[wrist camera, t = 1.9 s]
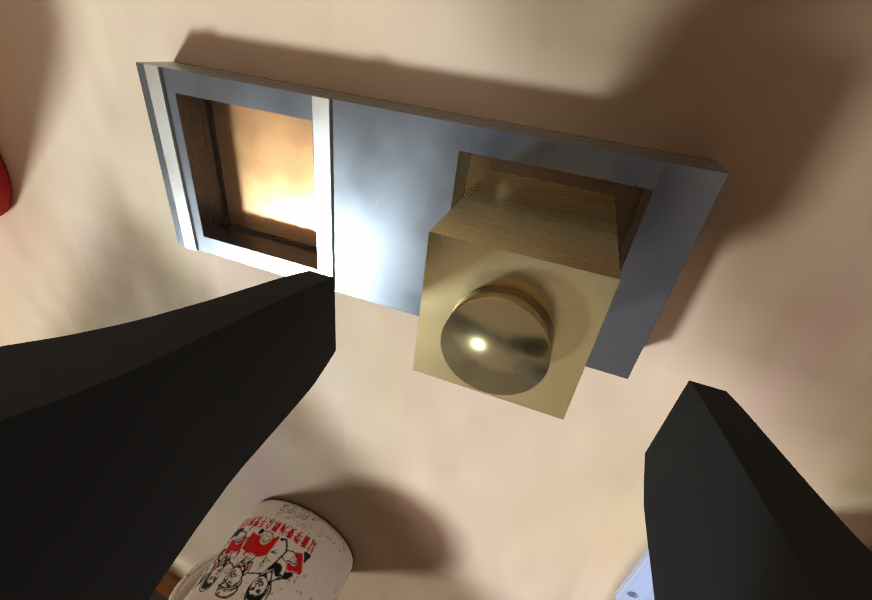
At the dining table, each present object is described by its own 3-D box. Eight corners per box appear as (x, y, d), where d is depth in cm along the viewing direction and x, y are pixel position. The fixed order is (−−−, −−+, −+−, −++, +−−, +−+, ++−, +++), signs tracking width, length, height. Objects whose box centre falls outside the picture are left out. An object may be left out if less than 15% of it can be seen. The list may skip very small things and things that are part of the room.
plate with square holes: (625, 353, 15) (627, 380, 14) (205, 232, 20) (177, 244, 18) (715, 161, 12) (730, 174, 10) (172, 61, 16) (133, 62, 15)
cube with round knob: (576, 301, 15) (560, 444, 10) (471, 273, 16) (401, 389, 11) (614, 195, 13) (621, 299, 8) (490, 169, 14) (415, 245, 8)
